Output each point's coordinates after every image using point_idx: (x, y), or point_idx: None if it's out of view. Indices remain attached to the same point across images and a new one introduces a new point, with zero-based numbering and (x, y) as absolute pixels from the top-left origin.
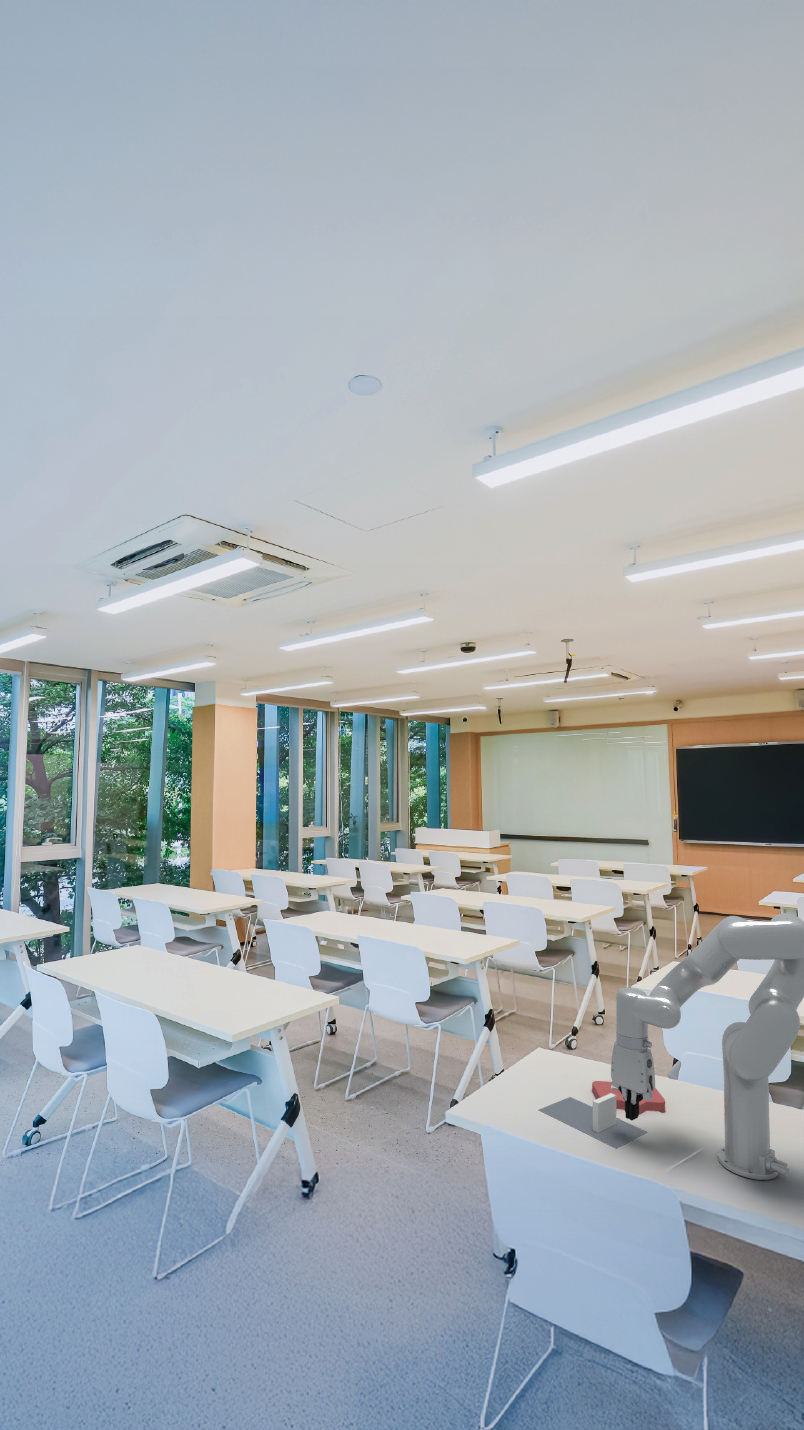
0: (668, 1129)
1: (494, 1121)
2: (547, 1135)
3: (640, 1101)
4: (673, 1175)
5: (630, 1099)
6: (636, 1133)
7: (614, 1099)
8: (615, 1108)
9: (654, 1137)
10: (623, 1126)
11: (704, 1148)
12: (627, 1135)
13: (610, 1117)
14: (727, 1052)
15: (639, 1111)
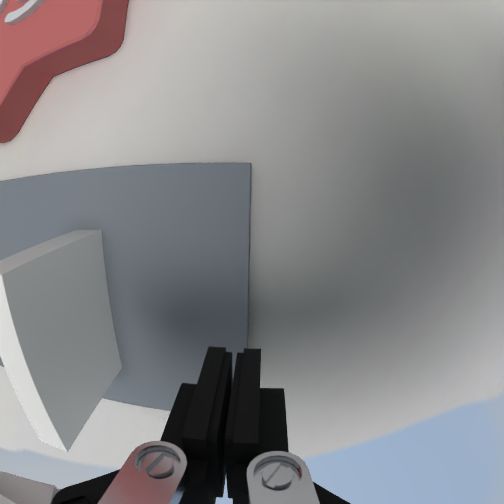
0: (291, 28)
1: (11, 442)
2: (79, 445)
3: (299, 462)
4: (452, 379)
5: (210, 493)
6: (219, 234)
7: (22, 292)
8: (56, 257)
9: (292, 166)
10: (134, 222)
11: (473, 92)
12: (204, 293)
13: (84, 296)
14: None
15: (113, 30)
